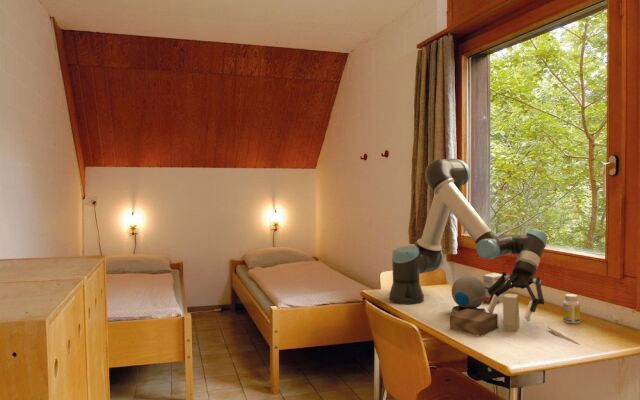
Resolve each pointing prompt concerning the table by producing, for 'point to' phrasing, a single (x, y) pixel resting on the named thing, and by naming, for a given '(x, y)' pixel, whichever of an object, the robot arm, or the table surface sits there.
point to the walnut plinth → (474, 322)
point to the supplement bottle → (571, 309)
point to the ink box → (488, 282)
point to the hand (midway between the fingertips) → (507, 315)
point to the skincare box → (511, 312)
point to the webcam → (468, 294)
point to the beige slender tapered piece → (562, 334)
